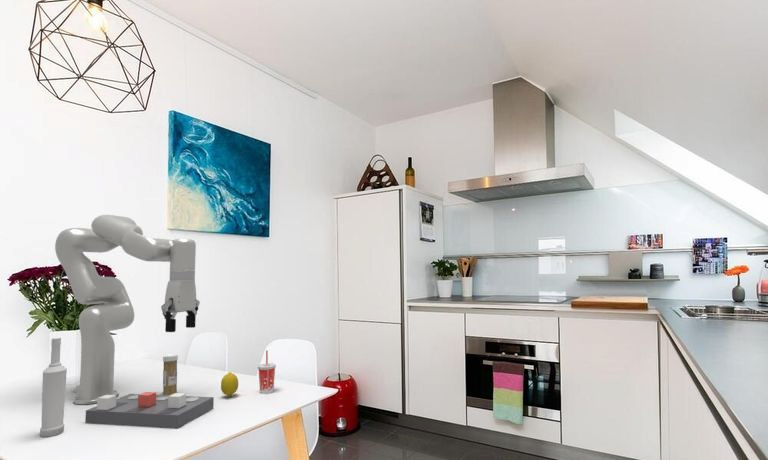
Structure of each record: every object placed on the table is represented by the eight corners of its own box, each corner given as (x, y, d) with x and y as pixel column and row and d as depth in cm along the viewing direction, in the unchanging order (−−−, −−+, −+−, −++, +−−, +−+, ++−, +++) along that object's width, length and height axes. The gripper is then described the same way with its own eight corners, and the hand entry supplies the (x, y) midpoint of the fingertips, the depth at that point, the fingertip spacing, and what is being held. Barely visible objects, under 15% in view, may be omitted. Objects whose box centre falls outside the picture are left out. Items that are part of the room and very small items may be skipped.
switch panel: (85, 423, 119) (85, 409, 120) (130, 404, 135) (130, 392, 135) (177, 428, 113) (178, 413, 114) (213, 408, 129) (213, 396, 129)
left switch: (96, 409, 119) (97, 397, 120) (105, 406, 122) (106, 394, 123) (107, 410, 119) (107, 398, 119) (116, 406, 122) (116, 395, 122)
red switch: (137, 406, 121) (138, 395, 122) (145, 403, 124) (146, 392, 124) (148, 406, 121) (148, 395, 121) (156, 403, 123) (156, 392, 124)
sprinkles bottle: (175, 395, 144) (176, 355, 145) (160, 396, 143) (161, 356, 144) (178, 391, 148) (179, 353, 149) (164, 393, 147) (165, 354, 148)
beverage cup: (274, 388, 150) (274, 348, 151) (276, 392, 144) (276, 351, 145) (257, 390, 147) (257, 349, 149) (258, 395, 142) (258, 353, 143)
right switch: (168, 407, 119) (168, 396, 120) (175, 404, 122) (175, 393, 122) (178, 408, 119) (179, 396, 119) (185, 404, 121) (186, 393, 122)
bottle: (48, 430, 114) (52, 337, 116) (68, 429, 115) (72, 336, 117) (34, 438, 109) (39, 340, 111) (55, 437, 109) (59, 339, 112)
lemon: (232, 399, 138) (232, 374, 138) (217, 399, 139) (217, 374, 139) (241, 394, 143) (241, 370, 144) (226, 394, 144) (227, 370, 145)
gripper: (189, 276, 147) (188, 325, 145) (153, 277, 130) (151, 333, 128) (208, 276, 145) (207, 326, 144) (174, 277, 128) (172, 334, 127)
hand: (180, 329), depth 136 cm, fingers open, 9 cm apart
